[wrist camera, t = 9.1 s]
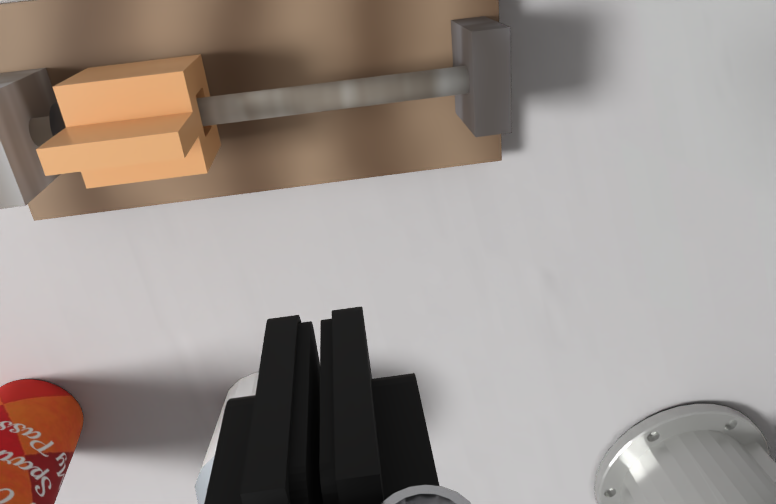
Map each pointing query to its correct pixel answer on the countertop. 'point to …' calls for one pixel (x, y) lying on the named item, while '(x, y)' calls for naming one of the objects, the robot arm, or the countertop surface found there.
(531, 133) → the countertop surface
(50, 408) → the paper cup
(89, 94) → the orange sliding block
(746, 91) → the countertop surface
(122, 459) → the countertop surface
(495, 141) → the wooden slider rail
